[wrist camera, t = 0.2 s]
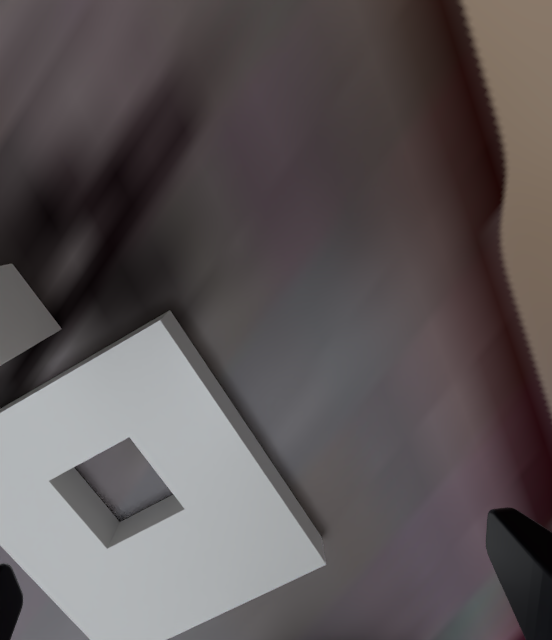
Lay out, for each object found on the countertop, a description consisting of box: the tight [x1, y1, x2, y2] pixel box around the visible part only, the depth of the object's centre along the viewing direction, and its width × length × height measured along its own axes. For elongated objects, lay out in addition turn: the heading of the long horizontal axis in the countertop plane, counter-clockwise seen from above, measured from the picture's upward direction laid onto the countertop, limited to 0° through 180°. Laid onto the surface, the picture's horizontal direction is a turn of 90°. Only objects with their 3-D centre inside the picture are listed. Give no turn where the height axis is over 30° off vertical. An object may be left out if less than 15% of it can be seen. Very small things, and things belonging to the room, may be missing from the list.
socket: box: [0, 310, 326, 640], centre depth 23 cm, size 17×15×2 cm
